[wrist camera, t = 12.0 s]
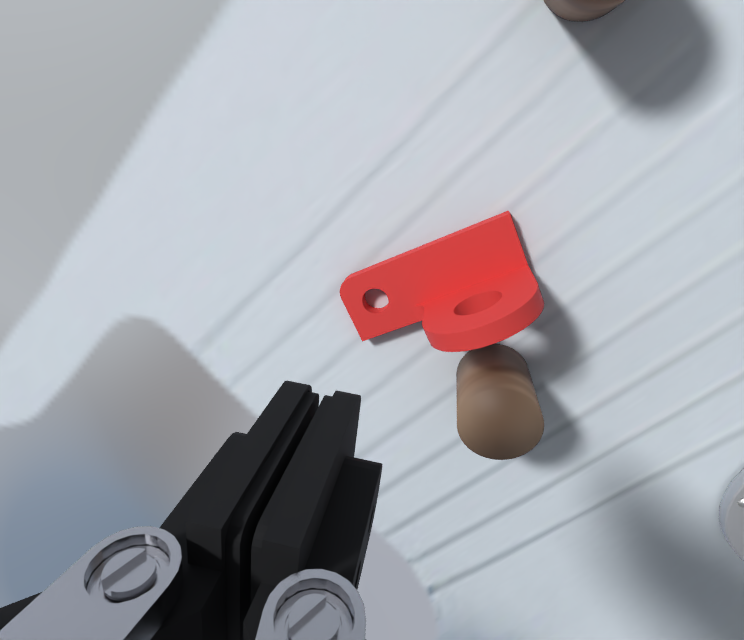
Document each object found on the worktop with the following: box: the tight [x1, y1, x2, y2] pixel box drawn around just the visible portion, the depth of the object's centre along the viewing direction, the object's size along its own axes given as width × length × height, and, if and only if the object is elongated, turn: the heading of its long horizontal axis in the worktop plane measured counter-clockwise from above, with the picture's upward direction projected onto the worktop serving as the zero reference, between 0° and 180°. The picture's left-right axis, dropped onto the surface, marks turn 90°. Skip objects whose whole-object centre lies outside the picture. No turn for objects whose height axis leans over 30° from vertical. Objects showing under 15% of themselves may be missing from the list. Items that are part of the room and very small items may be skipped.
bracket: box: [340, 211, 544, 352], centre depth 27 cm, size 12×4×8 cm, turn 114°
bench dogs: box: [457, 0, 625, 460], centre depth 25 cm, size 5×29×6 cm, turn 174°
